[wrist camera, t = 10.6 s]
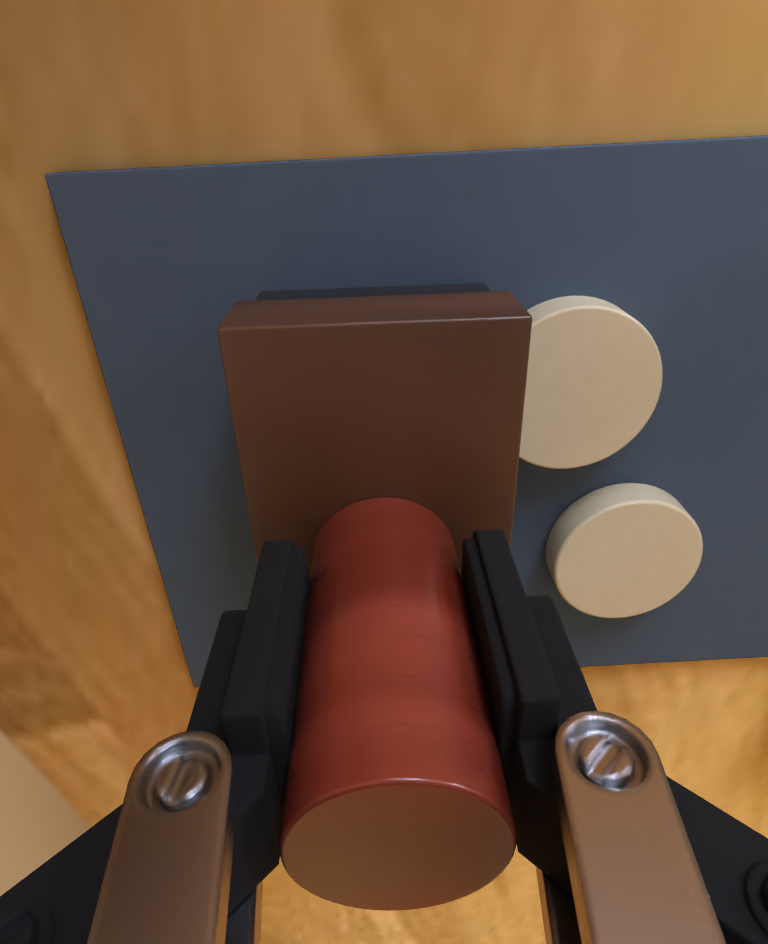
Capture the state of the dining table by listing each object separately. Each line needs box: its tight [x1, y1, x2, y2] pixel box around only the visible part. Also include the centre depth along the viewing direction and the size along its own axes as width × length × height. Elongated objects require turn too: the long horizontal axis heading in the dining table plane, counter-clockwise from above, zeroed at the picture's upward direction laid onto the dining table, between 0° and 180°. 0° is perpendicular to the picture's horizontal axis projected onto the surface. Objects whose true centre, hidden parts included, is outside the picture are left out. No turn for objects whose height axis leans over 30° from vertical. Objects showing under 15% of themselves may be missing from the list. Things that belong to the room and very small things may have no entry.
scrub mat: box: [45, 135, 768, 687], centre depth 16 cm, size 15×20×1 cm
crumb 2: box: [546, 483, 703, 618], centre depth 17 cm, size 4×4×1 cm
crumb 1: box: [519, 296, 662, 469], centre depth 14 cm, size 4×4×1 cm
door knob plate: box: [217, 283, 532, 910], centre depth 12 cm, size 10×5×9 cm, turn 2°
